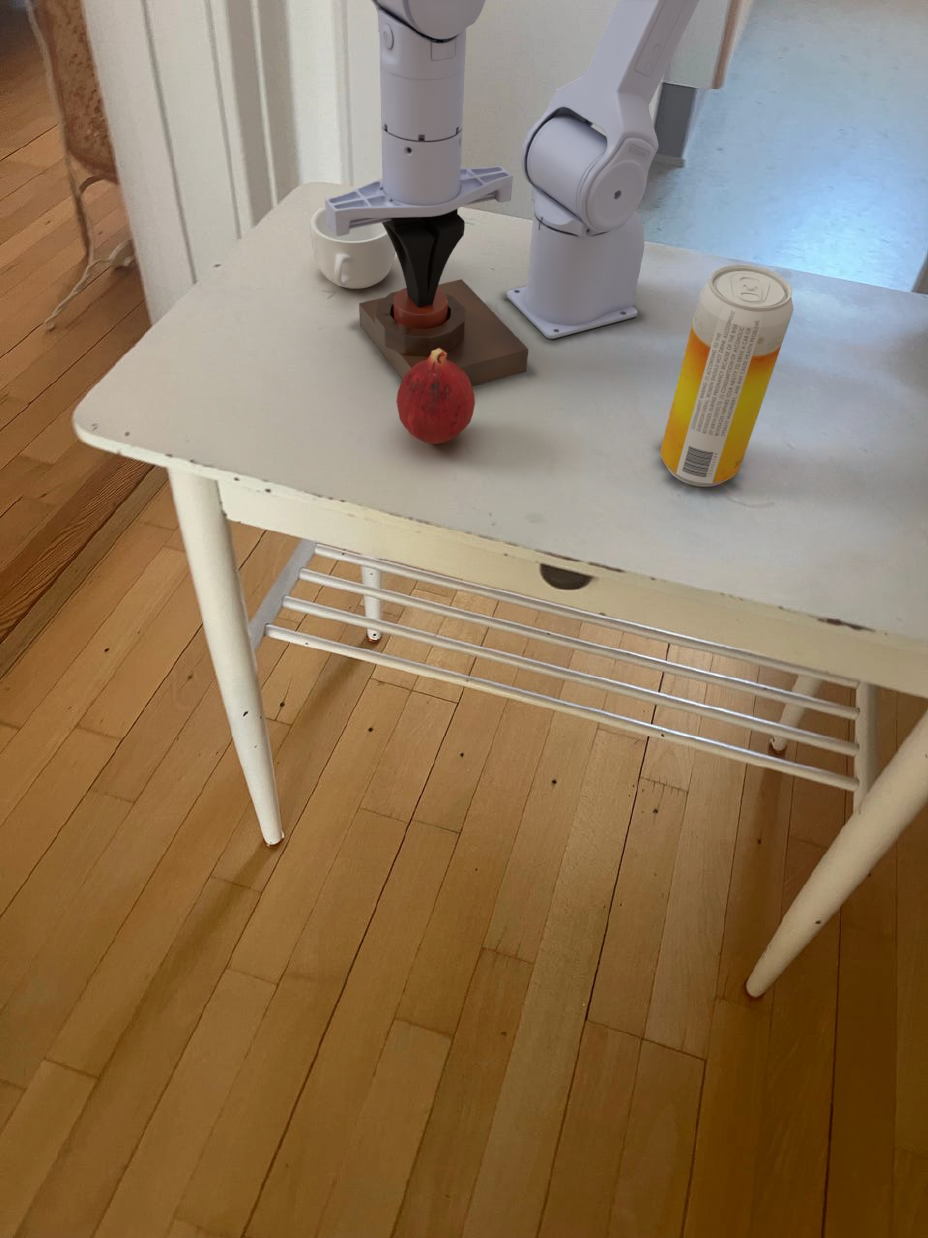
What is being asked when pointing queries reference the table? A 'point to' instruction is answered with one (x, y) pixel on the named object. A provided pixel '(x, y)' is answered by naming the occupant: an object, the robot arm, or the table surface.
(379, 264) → the teacup
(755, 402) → the beer can
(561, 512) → the table surface
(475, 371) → the button box
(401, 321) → the button
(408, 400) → the red fruit
